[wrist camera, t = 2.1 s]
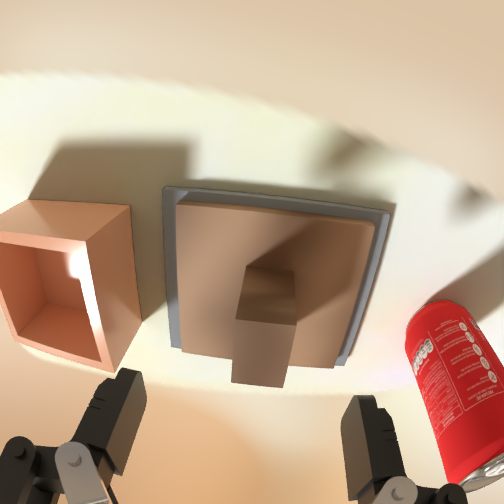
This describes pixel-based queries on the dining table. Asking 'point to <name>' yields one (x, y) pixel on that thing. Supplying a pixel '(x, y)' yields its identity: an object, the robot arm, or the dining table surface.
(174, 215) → the mat
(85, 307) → the open salmon box
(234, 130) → the dining table surface
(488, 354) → the beverage can
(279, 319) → the lid
